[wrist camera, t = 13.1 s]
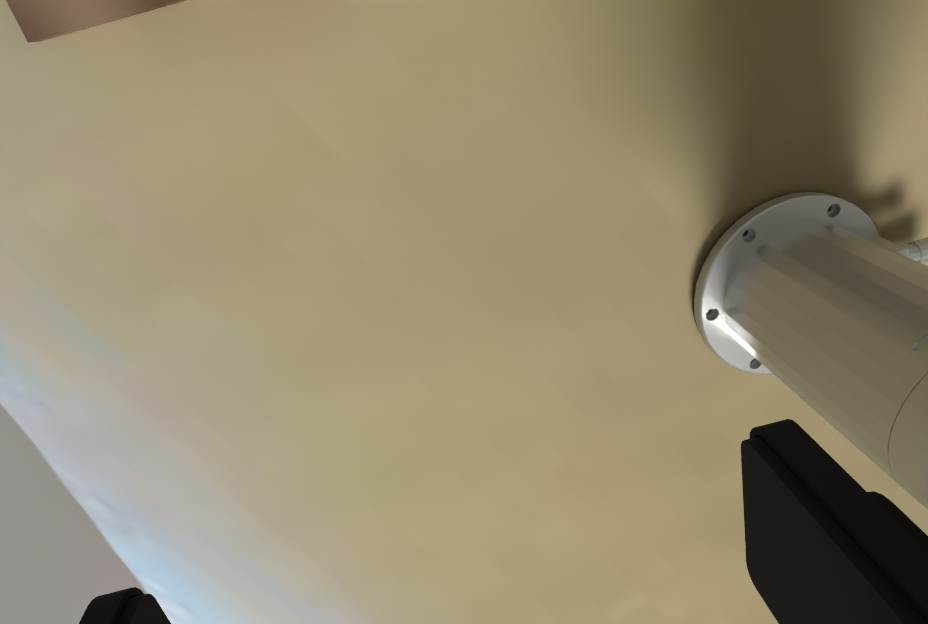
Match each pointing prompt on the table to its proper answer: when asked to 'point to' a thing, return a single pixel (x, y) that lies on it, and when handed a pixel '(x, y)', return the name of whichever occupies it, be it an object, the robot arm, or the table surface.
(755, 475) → the robot arm
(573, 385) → the table surface
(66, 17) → the holder
